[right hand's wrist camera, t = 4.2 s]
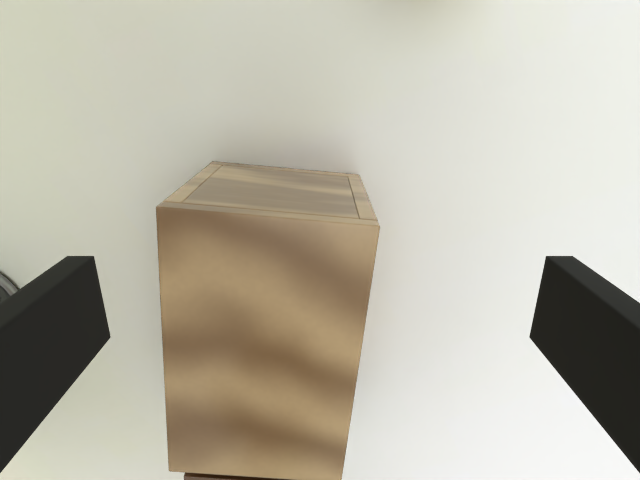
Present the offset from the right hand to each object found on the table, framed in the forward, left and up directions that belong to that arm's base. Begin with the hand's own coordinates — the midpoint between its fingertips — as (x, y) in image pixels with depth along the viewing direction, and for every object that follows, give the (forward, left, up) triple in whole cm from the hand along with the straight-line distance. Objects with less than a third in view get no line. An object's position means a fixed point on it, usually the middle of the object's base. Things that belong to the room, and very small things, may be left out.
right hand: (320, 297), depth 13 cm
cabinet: (0, -9, -20) cm, 22 cm away
